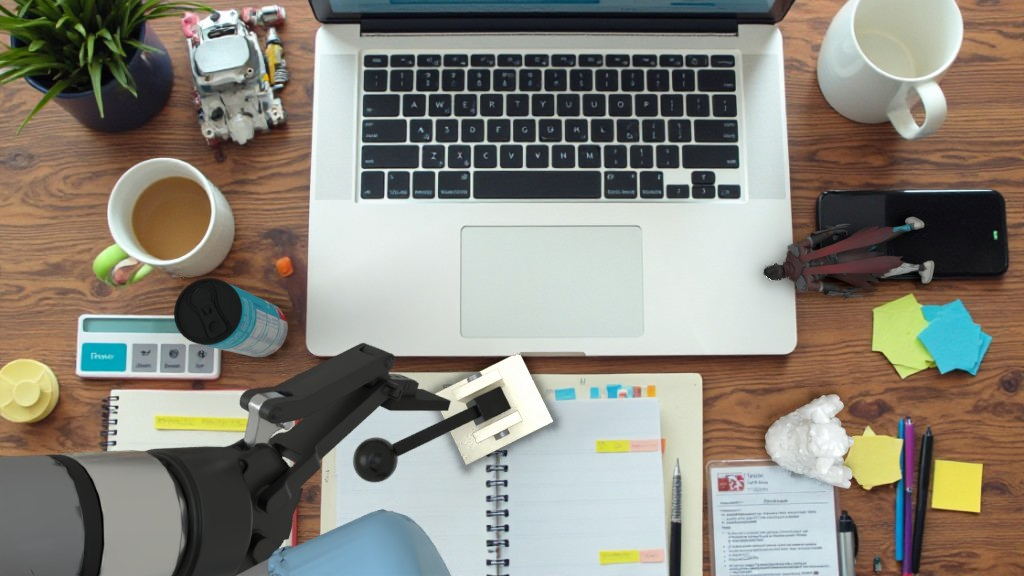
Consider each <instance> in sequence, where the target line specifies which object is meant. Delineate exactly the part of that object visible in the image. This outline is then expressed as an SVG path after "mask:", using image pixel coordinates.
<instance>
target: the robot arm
mask: <svg viewBox="0 0 1024 576" xmlns="http://www.w3.org/2000/svg"><path fill="white" fill-rule="evenodd" d="M395 363H396V357H395V355H394V354H393V353H391V352H389V351H386V350H384V349H381V348H379V347H376V346H373V345H371V344H368V343H366V342H361V343H359V344H356V345H355V346H353V347H351V348H348V349H346V350H344V351H342V352H341V353H339V354H336V355H334V356H332V357H330V358H328V359H326V360H324V361H322V362H321V363H318V364H317V365H314V366H312V367H311V368H308V369H306V370H304V371H302V372H300V373H298V374H296V375H294V376H292V377H291V378H288V379H286V380H285V381H282V382H280V383H278V384H276V385H274V386H266V387H264V386H263V387H255V388H254V387H253V388H249V389H246V390H245V391H244V392H242V394H241V395H240V398H239V406H240V408H241V409H242V410H245V411H246V412H248V415H247V420H246V421H247V422H246V427H245V431H244V437H243V438H241V439H239V440H237V441H236V442H234V443H231V444H229V445H227V446H213V445H210V446H208V445H207V446H205V445H204V446H184V447H183V446H182V447H161V448H150V449H147V450H134V449H127V450H109V451H108V450H106V451H105V450H103V451H85V452H65V453H63V452H62V453H56V454H54V453H53V454H51V453H50V454H34V455H33V454H32V455H31V454H29V455H7V456H4V455H3V456H0V576H452V575H451V572H450V570H449V568H448V566H447V565H446V563H445V560H444V559H443V557H442V556H441V554H440V552H439V551H438V548H437V547H436V545H435V543H434V542H433V540H432V539H431V537H430V536H429V535H428V534H427V532H426V531H425V530H424V528H422V527H421V525H420V524H419V523H417V522H416V520H414V519H412V518H411V517H409V516H408V515H405V514H403V513H399V512H396V511H393V510H386V509H383V508H380V509H377V510H374V511H372V512H369V513H367V514H364V515H362V516H360V517H358V518H356V519H353V520H351V521H349V522H347V523H345V524H342V525H340V526H338V527H335V528H333V529H331V530H329V531H327V532H325V533H322V534H320V535H318V536H316V537H313V538H310V539H309V540H306V541H304V542H301V543H299V544H297V545H295V546H293V545H285V546H282V545H283V543H284V542H285V540H289V539H290V536H291V532H292V529H293V522H294V514H295V512H296V510H297V508H298V506H299V504H300V502H301V498H302V494H303V491H304V488H303V487H302V486H303V485H305V483H307V481H308V480H311V478H312V477H313V476H315V474H316V473H317V472H318V471H319V470H320V469H321V467H322V464H321V460H323V458H324V457H325V456H327V455H328V454H329V453H330V452H331V451H333V449H334V448H336V446H338V445H339V444H340V443H341V442H342V441H343V440H344V439H345V438H346V437H347V436H349V435H350V434H351V433H352V432H353V431H354V430H356V428H357V427H358V426H360V425H361V424H362V423H363V422H364V421H365V420H366V419H367V418H368V417H370V416H371V415H372V414H373V413H374V412H375V411H376V410H377V409H378V408H379V407H381V408H383V409H386V410H388V411H390V412H441V411H448V409H449V406H450V402H451V401H450V400H448V399H445V398H443V397H441V396H438V395H436V394H435V393H433V392H430V391H428V390H426V389H424V388H419V385H420V383H419V382H418V381H417V380H415V379H412V378H410V377H408V376H405V375H403V374H400V373H390V371H391V370H392V369H393V367H394V366H395ZM294 421H298V422H297V423H296V424H294V425H293V422H294ZM282 429H284V430H285V431H284V432H279V431H281V430H282ZM277 432H278V433H277ZM284 458H285V459H287V460H289V461H290V462H292V463H294V464H293V465H292V466H290V465H289V463H288V462H287V461H286V460H285V459H284ZM281 546H282V547H281Z"/></svg>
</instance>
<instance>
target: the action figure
mask: <svg viewBox="0 0 1024 576" xmlns="http://www.w3.org/2000/svg"><path fill="white" fill-rule="evenodd" d="M904 223H905V224H904V225H901V226H895V227H894V226H893V227H891V226H883V227H880V226H879V225H877V226H873V225H872V226H866V227H862V228H861V229H859V230H858V231H856V232H855V233H852V234H851V236H849V233H848V230H846V229H845V228H848V226H851V224H850V223H840V224H836V225H835V226H832V225H825V228H826V229H825V230H824V229H823V230H816V231H812V232H810V233H809V236H806V237H804V238H802V239H801V240H799V241H796V242H795V243H791V244H789V245H787V252H786V257H785V260H784V261H783V262H782V264H779V263H778V262H773V263H771V264H770V265H769V264H768V266H765V267H764V268H763V273H762V274H763V275H764V276H765V277H766V276H767V277H768V278H770V279H771V280H775V281H782V280H781V279H782V278H783V279H787V278H788V280H789V281H791V282H792V283H794V284H795V286H796V289H797V292H798V293H799V292H800V293H801V292H802V293H804V292H816V293H822V292H823V295H824V296H825V297H833V296H840V298H843V299H842V300H843V301H845V300H846V299H850V298H860V297H864V296H867V295H868V293H869V292H867V293H860V294H859V292H862V290H868V291H871V292H872V291H879V289H877V288H875V286H873V285H872V284H870V283H869V282H872V283H876V284H880V281H879V279H886V278H889V277H891V276H898V275H902V274H909V273H915V272H917V273H918V274H919V276H920V277H921V283H922V284H929V283H930V282H931V281H932V279H933V274H934V269H935V262H934V260H927V261H924V262H923V263H917V264H916V263H915V264H913V263H907V262H906V260H905V261H904V260H901V259H902V258H903V257H904V256H894V255H886V253H884V252H883V251H880V250H877V251H876V250H875V249H877V248H878V247H880V246H881V245H883V244H884V243H887V242H889V241H891V240H894V239H896V238H898V237H900V236H901V235H903V234H904V233H907V232H910V231H913V230H919V229H923V228H924V227H925V223H924V221H923V220H921V219H919V218H917V217H915V216H909V217H906V219H905V220H904ZM879 227H880V228H879ZM843 233H844V234H843ZM844 235H845V236H846V237H847V238H844V239H842V240H839V241H836V242H834V243H833V244H830V245H828V246H825V247H822V248H819V249H813V248H814V246H816V245H818V244H821V243H822V242H823V241H826V240H827V239H828V238H830V237H832V236H839V237H844ZM848 236H849V237H848ZM873 250H875V251H873ZM772 264H774V265H772ZM824 278H833V279H837V280H840V281H843V282H845V283H848V284H849V285H852V287H844V286H840V285H838V284H835V283H832V282H826V281H825V282H824V281H822V280H823V279H824ZM878 278H879V279H878ZM778 279H779V280H778Z"/></svg>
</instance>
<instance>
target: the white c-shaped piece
mask: <svg viewBox="0 0 1024 576" xmlns="http://www.w3.org/2000/svg"><path fill="white" fill-rule="evenodd" d="M499 386H501V388H502V390H503V392H504V394H505V396H506V398H507V401H508V403H509V405H510V407H511V409H510V410H508V411H506V412H504V413H502V414H500V415H498V416H496V417H494V418H492V419H490V420H488V421H486V422H484V423H482V424H480V425H478V426H476V425H475V423H474V421H471V422H469V423H467V424H465V425H463V426H461V427H459V428H457V429H455V430H452V431H450V432H449V433H450V434H451V436H452V438H453V441H454V442H455V445H456V447H457V449H458V451H459V454H460V455H461V457H462V460H463V462H464V464H465V466H468V465H470V464H472V463H475V462H476V461H478V460H480V459H482V458H484V457H486V456H487V455H490V454H492V453H494V452H496V451H498V450H500V449H502V448H504V447H506V446H508V445H510V444H511V443H514V442H515V441H518V440H519V439H522V438H524V437H526V436H528V435H530V434H531V433H534V432H536V431H537V430H540V429H542V428H543V427H546V426H548V425H550V424H552V423H554V419H553V418H552V416H551V414H550V412H549V409H548V407H547V405H546V403H545V402H544V399H543V397H542V395H541V393H540V391H539V389H538V387H537V385H536V383H535V381H534V379H533V377H532V375H531V372H530V371H529V369H528V366H527V365H526V363H525V361H524V359H523V357H522V354H520V355H516V356H512V355H510V356H509V357H506V358H504V359H502V360H500V361H499V362H496V363H494V364H492V365H490V366H488V367H486V368H484V369H482V370H480V371H478V372H476V373H474V374H471V375H470V376H467V377H465V378H463V379H462V380H459V381H458V382H455V383H453V384H452V385H450V386H447V387H446V388H443V389H441V390H439V391H437V392H435V393H434V394H436V395H438V396H441V397H443V398H445V399H448V400H450V401H451V402H450V406H449V409H448V411H440V413H441V415H442V417H443V420H445V419H447V418H449V417H451V416H453V415H455V414H457V413H459V412H462V411H464V410H466V409H468V408H467V406H466V403H467V402H469V401H470V400H472V399H474V398H475V397H477V396H480V395H482V394H484V393H486V392H488V391H490V390H492V389H495V388H497V387H499Z"/></svg>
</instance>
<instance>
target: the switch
mask: <svg viewBox="0 0 1024 576" xmlns="http://www.w3.org/2000/svg"><path fill="white" fill-rule="evenodd" d="M466 406H467V408H468V409H466V410H464V411H462V412H459V413H457V414H455V415H453V416H451V417H449V418H447V419H443V420H441V421H437V422H436V423H434V424H432V425H430V426H427V427H426V428H423V429H421V430H419V431H417V432H415V433H413V434H411V435H408V436H407V437H404V438H402V439H400V440H398V441H396V442H394V443H391V441H390V440H387V439H386V438H383V437H369V438H366V439H365V440H363V441H361V442H360V444H358V446H357V447H356V448H355V450H354V452H353V457H352V465H353V469H354V471H355V473H356V474H357V475H358V477H359V478H360V479H362V480H363V481H365V482H368V483H373V484H377V483H382V482H385V481H386V480H387V479H389V478H390V477H391V476H393V474H394V473H395V471H396V470H397V467H398V463H399V457H400V456H403V455H405V454H406V453H409V452H411V451H413V450H415V449H417V448H419V447H421V446H424V445H425V444H427V443H429V442H432V441H434V440H436V439H438V438H440V437H442V436H445V435H447V434H448V433H451V432H450V431H452V430H455V429H457V428H459V427H461V426H463V425H465V424H467V423H469V422H471V421H474V423H475V425H476V426H478V425H480V424H482V423H484V422H486V421H488V420H490V419H492V418H494V417H496V416H498V415H500V414H502V413H504V412H506V411H508V410H510V409H511V407H510V405H509V403H508V401H507V398H506V396H505V394H504V392H503V390H502V388H501V386H499V387H497V388H495V389H492V390H490V391H488V392H486V393H484V394H482V395H480V396H477V397H475V398H474V399H472V400H470V401H469V402H467V403H466Z"/></svg>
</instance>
